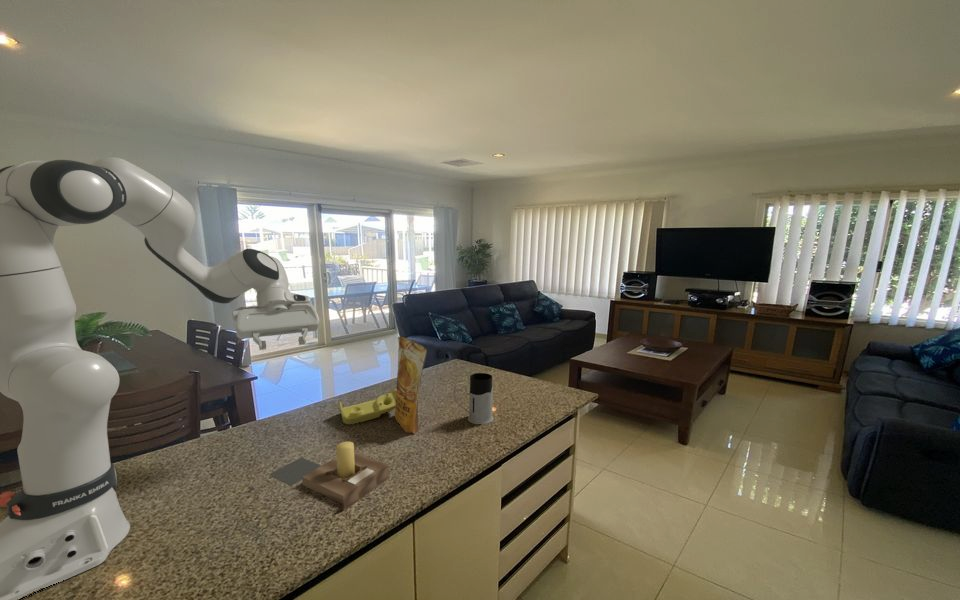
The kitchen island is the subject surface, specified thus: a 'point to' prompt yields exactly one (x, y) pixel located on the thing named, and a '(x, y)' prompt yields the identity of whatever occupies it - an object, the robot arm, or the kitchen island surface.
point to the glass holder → (479, 398)
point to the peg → (345, 460)
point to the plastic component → (368, 409)
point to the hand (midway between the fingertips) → (283, 346)
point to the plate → (294, 471)
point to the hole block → (347, 480)
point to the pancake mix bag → (408, 383)
